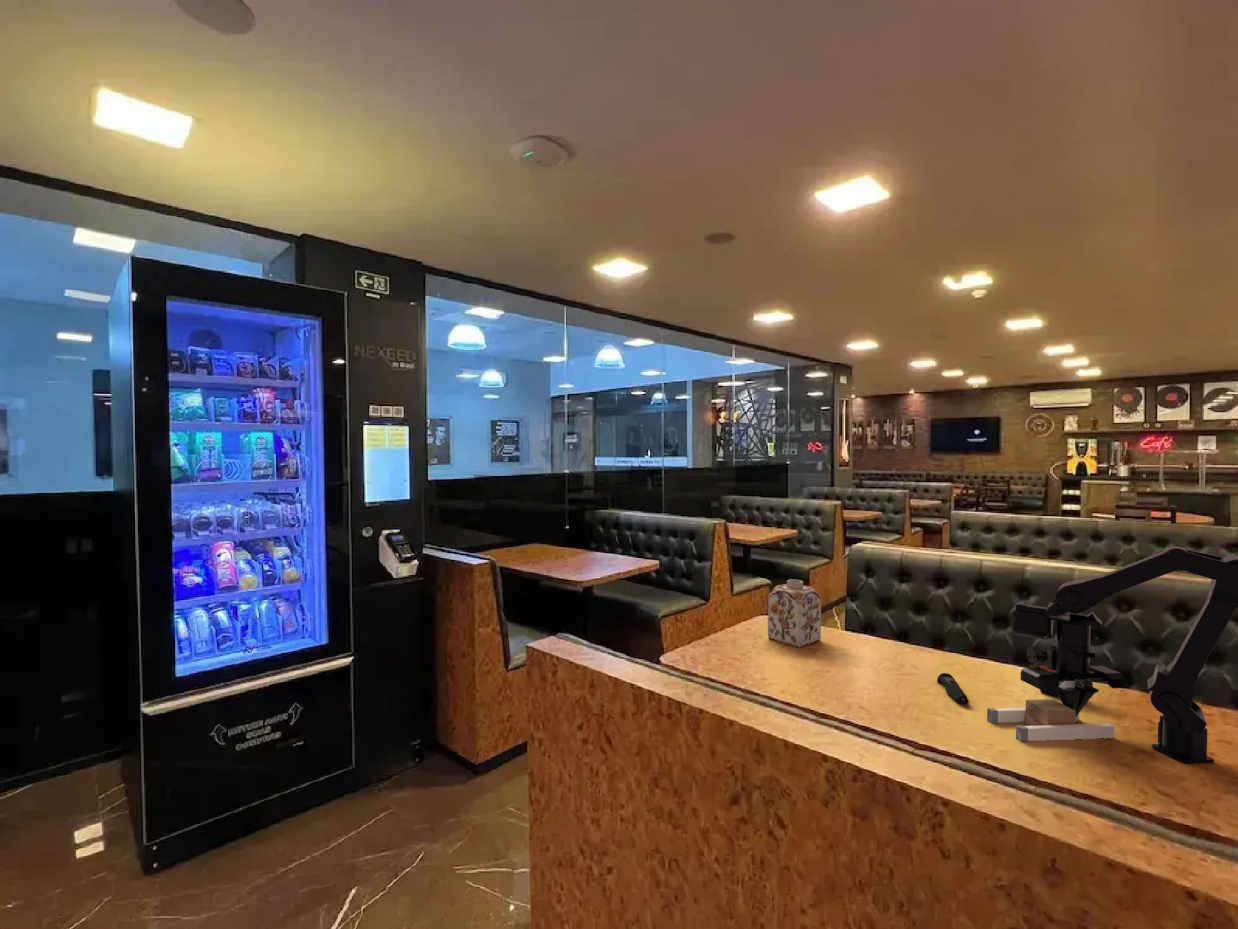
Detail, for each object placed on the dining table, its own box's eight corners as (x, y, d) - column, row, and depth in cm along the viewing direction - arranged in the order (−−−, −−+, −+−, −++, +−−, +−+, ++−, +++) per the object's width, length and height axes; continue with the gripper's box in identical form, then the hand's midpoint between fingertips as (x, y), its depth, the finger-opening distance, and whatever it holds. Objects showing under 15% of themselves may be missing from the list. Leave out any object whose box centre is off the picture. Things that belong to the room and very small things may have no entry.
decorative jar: (789, 632, 195) (789, 575, 195) (821, 640, 187) (823, 581, 186) (766, 639, 188) (767, 580, 187) (799, 648, 179) (800, 586, 179)
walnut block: (1075, 735, 124) (1075, 711, 124) (1047, 736, 124) (1047, 711, 124) (1051, 722, 130) (1052, 699, 130) (1025, 723, 130) (1025, 699, 130)
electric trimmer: (954, 707, 139) (954, 693, 139) (935, 682, 154) (936, 669, 154) (972, 709, 138) (973, 695, 138) (952, 683, 153) (952, 671, 153)
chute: (1114, 738, 123) (1115, 725, 123) (1021, 741, 121) (1021, 728, 121) (1074, 717, 133) (1074, 705, 133) (986, 720, 131) (987, 708, 131)
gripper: (1082, 631, 136) (1080, 701, 136) (1002, 633, 135) (1001, 704, 135) (1128, 647, 125) (1126, 724, 125) (1041, 649, 123) (1040, 726, 124)
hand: (1071, 718), depth 128 cm, fingers closed
